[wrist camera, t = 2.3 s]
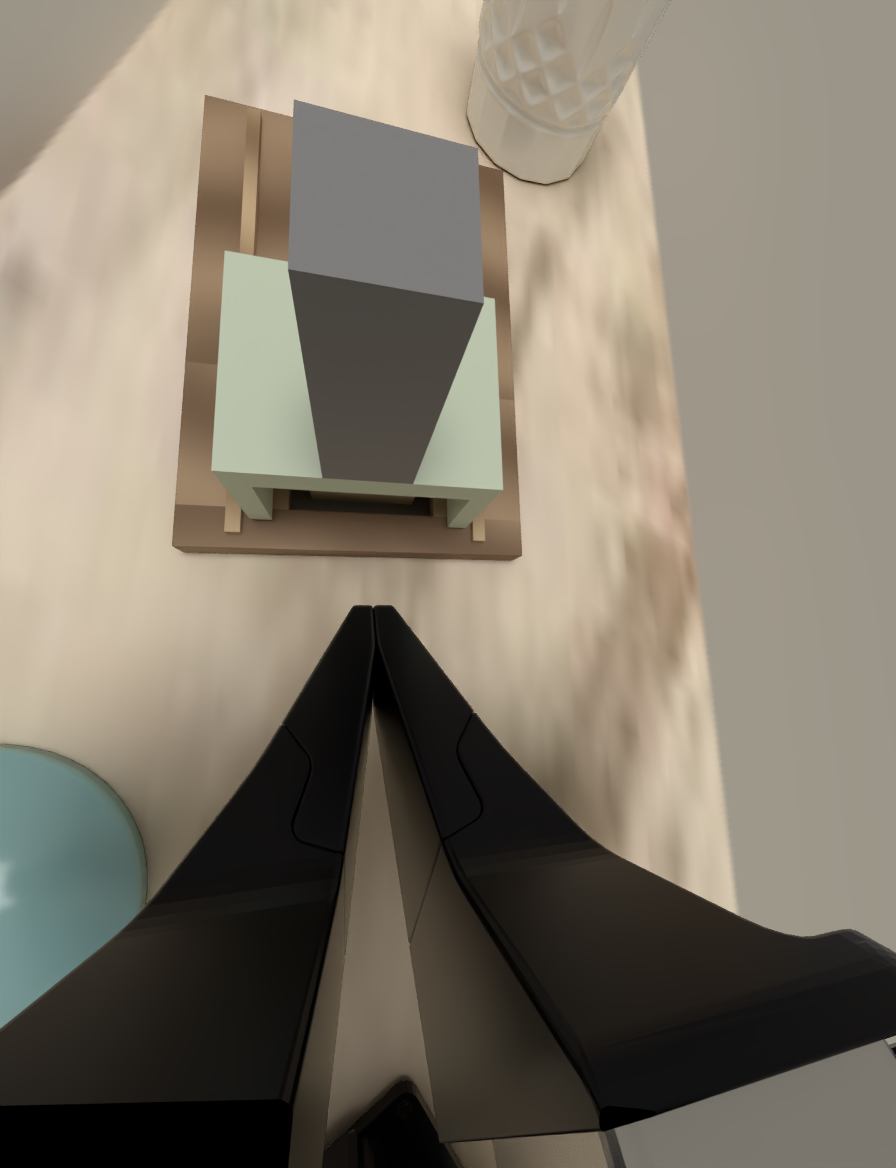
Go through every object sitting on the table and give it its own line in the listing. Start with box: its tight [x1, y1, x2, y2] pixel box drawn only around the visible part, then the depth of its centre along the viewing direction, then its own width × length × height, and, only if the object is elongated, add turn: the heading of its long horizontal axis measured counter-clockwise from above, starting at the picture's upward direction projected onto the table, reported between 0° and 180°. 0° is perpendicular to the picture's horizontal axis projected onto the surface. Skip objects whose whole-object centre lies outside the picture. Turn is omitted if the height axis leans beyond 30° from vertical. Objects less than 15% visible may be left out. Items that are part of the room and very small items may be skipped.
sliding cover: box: [211, 100, 503, 528], centre depth 11 cm, size 6×8×11 cm
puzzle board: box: [172, 95, 522, 560], centre depth 17 cm, size 19×13×1 cm
